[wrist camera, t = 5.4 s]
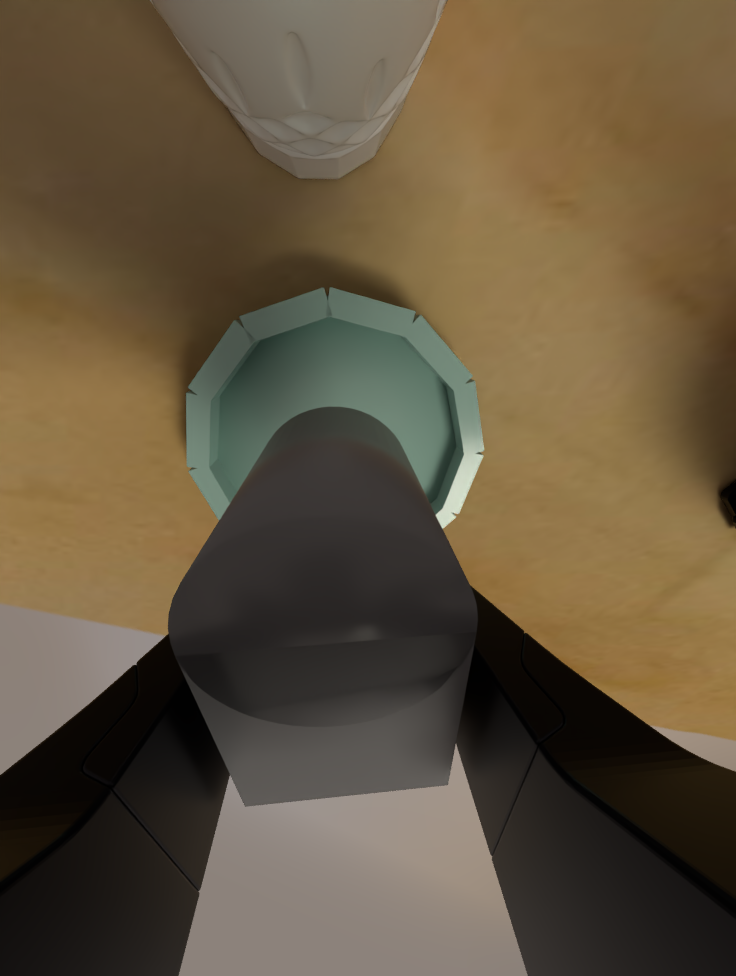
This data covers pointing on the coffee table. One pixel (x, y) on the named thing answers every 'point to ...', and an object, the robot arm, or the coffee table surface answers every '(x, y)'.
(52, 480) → the coffee table surface
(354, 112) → the white cup
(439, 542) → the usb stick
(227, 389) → the dish
